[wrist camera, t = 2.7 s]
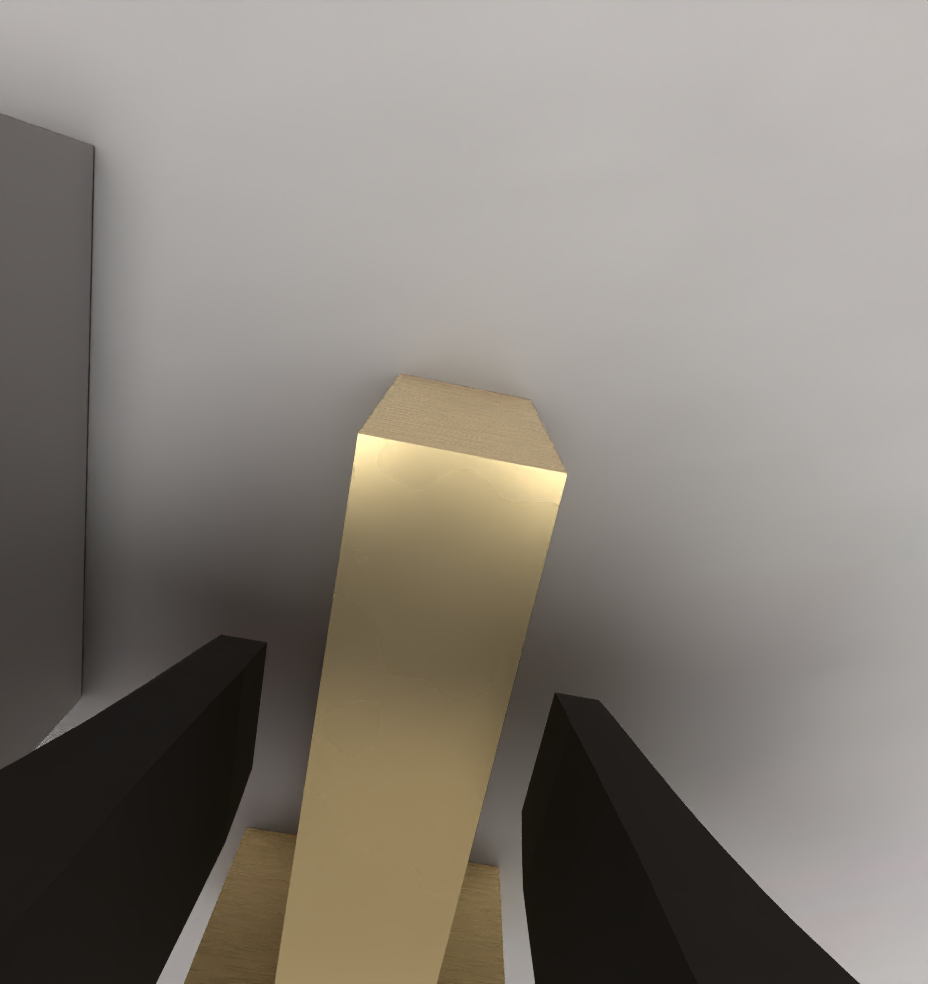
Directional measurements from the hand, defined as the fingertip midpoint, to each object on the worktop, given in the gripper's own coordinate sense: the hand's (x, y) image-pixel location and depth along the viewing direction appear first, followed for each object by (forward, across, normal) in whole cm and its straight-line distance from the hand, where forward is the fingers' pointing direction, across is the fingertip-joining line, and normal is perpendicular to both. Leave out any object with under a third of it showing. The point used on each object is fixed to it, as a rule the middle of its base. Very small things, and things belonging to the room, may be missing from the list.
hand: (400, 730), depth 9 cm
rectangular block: (+2, 0, 0) cm, 2 cm away
